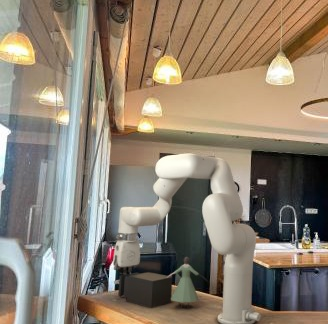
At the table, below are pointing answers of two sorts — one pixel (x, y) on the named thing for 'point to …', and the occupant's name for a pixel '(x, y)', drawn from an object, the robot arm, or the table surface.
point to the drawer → (123, 284)
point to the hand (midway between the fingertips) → (124, 283)
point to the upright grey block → (149, 289)
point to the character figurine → (185, 285)
